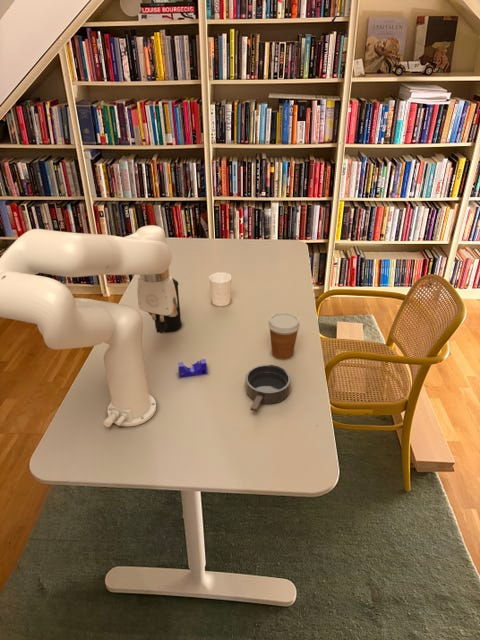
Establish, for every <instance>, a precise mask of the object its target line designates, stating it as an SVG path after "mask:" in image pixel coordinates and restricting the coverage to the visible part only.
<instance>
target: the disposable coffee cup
mask: <svg viewBox="0 0 480 640" xmlns="http://www.w3.org/2000/svg"><path fill="white" fill-rule="evenodd" d="M267 326H268V328H269V335H270V343H271V344H270V345H271V352H272V353H271V354H272V356H273V357H274V358H276V359H279V360H289V359H291V358H292V357H293V355H294V351H295V346H296V341H297V336H298V332H299V329H300V327H301V323H300V320H299V318H298V317H297V316H296V315H295V314H292V313H289V312H278V313H274V314H272V315H271V316H270V317H269V320H268V321H267Z"/></svg>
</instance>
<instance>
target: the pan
mask: <svg viewBox="0 0 480 640" xmlns="http://www.w3.org/2000/svg"><path fill="white" fill-rule="evenodd" d="M291 379H292V378H291V375H290V374H289V372H288V371H287V370H286V369H285V368H283V367H280V366H278V365H275V364H261V365H257V366H254V367H252V368H250V370H248V371H247V373H246V374H245V392H246V395H247V396H248V397H249V398H250V399H251V400H253V401H254V400H255V398H256V396H257V394H262V395H264V398H263V400H262V402H261V404H266V405H267V404H270V405H272V404H276V403H280V402H282V401H284V400H285V399H287V397H289V395H290V392H291V384H292V383H291V382H292V381H291Z"/></svg>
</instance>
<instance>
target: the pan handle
mask: <svg viewBox="0 0 480 640" xmlns="http://www.w3.org/2000/svg"><path fill="white" fill-rule="evenodd" d="M263 398H264V395H262V394H257V396H256V398H255V400H253V402H252V404H251V406H250V411H253V412H258V410H259V408H260V406H261V404H262V403H261V402H262V400H263Z"/></svg>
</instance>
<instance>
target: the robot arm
mask: <svg viewBox="0 0 480 640" xmlns="http://www.w3.org/2000/svg"><path fill="white" fill-rule="evenodd" d="M166 237H167V236H166V232H165V230H164V229H163V228H162V227H161V226H159V225H154V224H153V225H151V224H150V225H144V226H141V227H139V228H138V229H137V230H136V231H135V232H133V233H132V234H129V235H126V236H118V235H111V234H105V233H104V234H103V233H102V234H101V233H84V232H70V231H59V230H53V229H43V228H33V229H30V230H27V231H26V232H24V233H23V234H22V235H20V236H19V237H18V238H16V240H15V241H14V242H13V243H12V244H11V245H10V246H9V247H8V248H7V249H6V250H5V252H4V253H3V254H2V255H1V256H0V318H3V319H9V320H14V321H20V322H24V323H27V324H34V325H37V329H38V331H39V334H41V336H42V337H43V341H44V344H45V345H46V346H47V348H49V349H51V350H56V351H60V350H70V349H81V348H90V347H97V346H100V345H102V344H107V345H108V346H109V347H108V348H106V350H105V352H104V353H103V366H104V369H105V374H106V376H105V377H106V380H107V385H108V390H109V395H110V400H111V401H110V403H108V406H107V409H106V410H107V417H106V418H105V419H104V420H103V426H105V427H106V428H110V427H111V426H112V425H113V424H115V425H117V427H120V426H121V427H135V426H139V425H142V424H144V423H146V422H147V421H149V420H150V419H151V418H152V417H153V416H154V415H155V413H156V411H157V401H156V399H155V397H154V396H153V395H151V394H150V393H149V387H148V386H149V385H148V379H147V372H146V365H145V359H144V349H143V330H144V320H143V315H142V313H141V312H140V311H139V310H141V311H143V312H146V313H148V314H149V315H150V317H151V319H152V321H154V326H155V330H156V331H155V332H156V333H157V334H159V333H160V334H163V333H165V332H164V331H165V330H166V329H167V318H168V317H175V316H176V315H177V314H178V312H177V309H176V308H177V295H176V290H175V286H174V282H173V279H174V278H173V277H172V276H171V275H170V266H171V264H172V260H173V253H172V250H171V247H170V246H169V245H168V244H167V238H166ZM37 273H39V274H45V275H51V276H58V277H66V278H81V277H82V278H83V277H93V276H105V275H109V276H128V275H131V276H133V275H134V276H135V275H137V276H138V277H137V287H136V289H137V304H138V308H139V310H138V309H137V308H135V307H133V306H130V305H128V304H124V303H118V302H113V301H104V300H99V299H92V298H86V297H85V298H83V297H74V295H73V293H72V292H71V290H70V289H69V287H67V285H65V284H64V283H62V282H61V281H59V280H56V279H54V278H51V277H48V276H43V275H36V274H37ZM172 278H173V279H172Z"/></svg>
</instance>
